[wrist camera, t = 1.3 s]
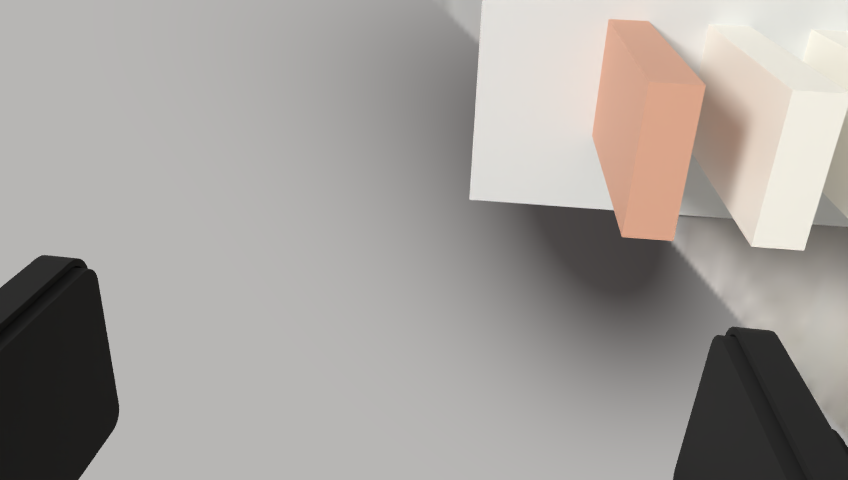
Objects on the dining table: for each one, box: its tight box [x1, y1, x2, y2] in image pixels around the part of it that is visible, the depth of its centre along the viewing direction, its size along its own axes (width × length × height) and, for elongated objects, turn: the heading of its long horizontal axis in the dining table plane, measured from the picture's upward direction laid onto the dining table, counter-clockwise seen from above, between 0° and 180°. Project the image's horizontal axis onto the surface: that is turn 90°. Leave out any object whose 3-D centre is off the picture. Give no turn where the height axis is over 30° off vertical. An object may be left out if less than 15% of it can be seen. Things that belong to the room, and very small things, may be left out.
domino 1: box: [592, 19, 706, 241], centre depth 26 cm, size 2×5×10 cm, turn 177°
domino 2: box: [692, 24, 848, 251], centre depth 26 cm, size 2×5×10 cm, turn 178°
